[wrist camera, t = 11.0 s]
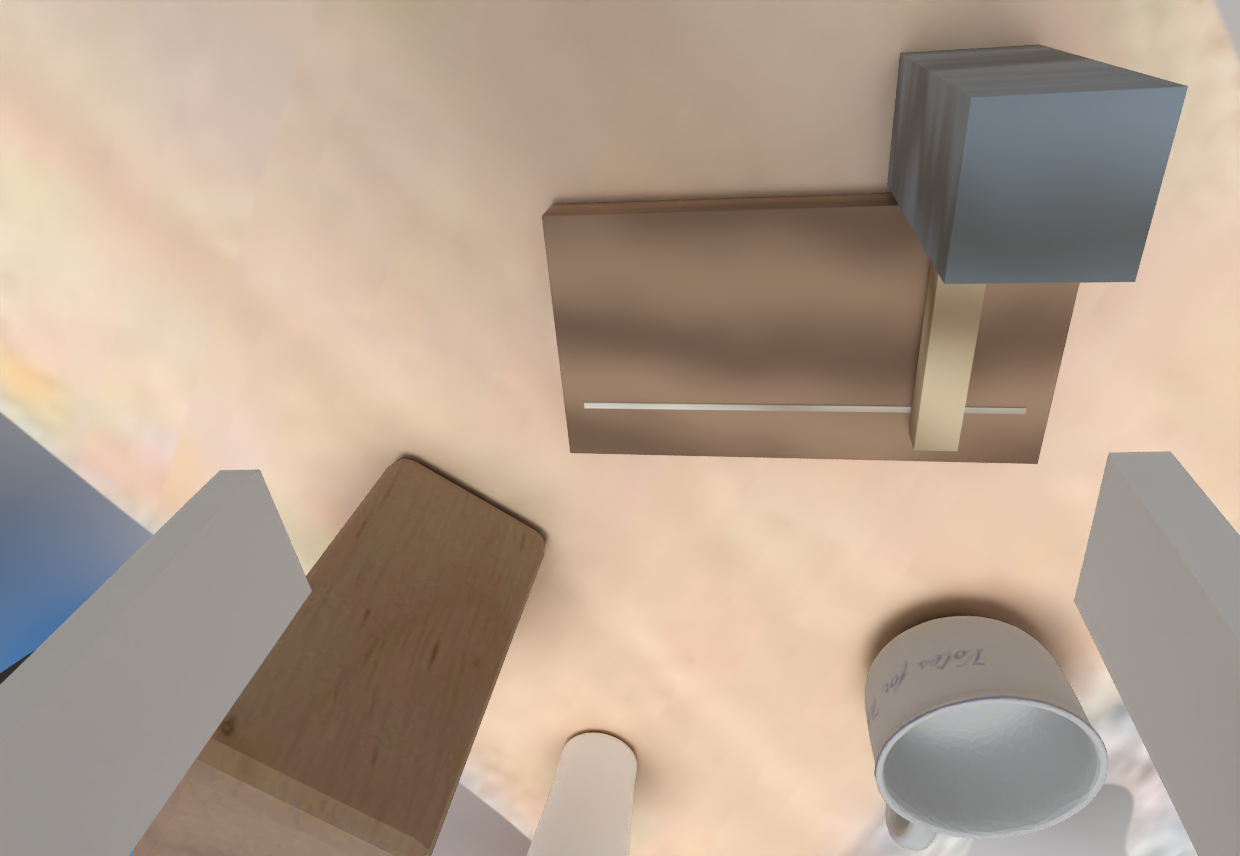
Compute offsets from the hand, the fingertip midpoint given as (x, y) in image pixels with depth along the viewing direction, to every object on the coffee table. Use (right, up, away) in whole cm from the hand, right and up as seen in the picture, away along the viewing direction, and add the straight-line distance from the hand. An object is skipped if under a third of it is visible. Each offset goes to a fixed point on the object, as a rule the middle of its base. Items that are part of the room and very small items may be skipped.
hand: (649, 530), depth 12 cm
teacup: (+18, -13, +34) cm, 40 cm away
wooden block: (-11, -5, +34) cm, 37 cm away
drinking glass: (-2, -21, +42) cm, 47 cm away
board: (+8, +6, +24) cm, 26 cm away
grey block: (+13, +9, +21) cm, 27 cm away
